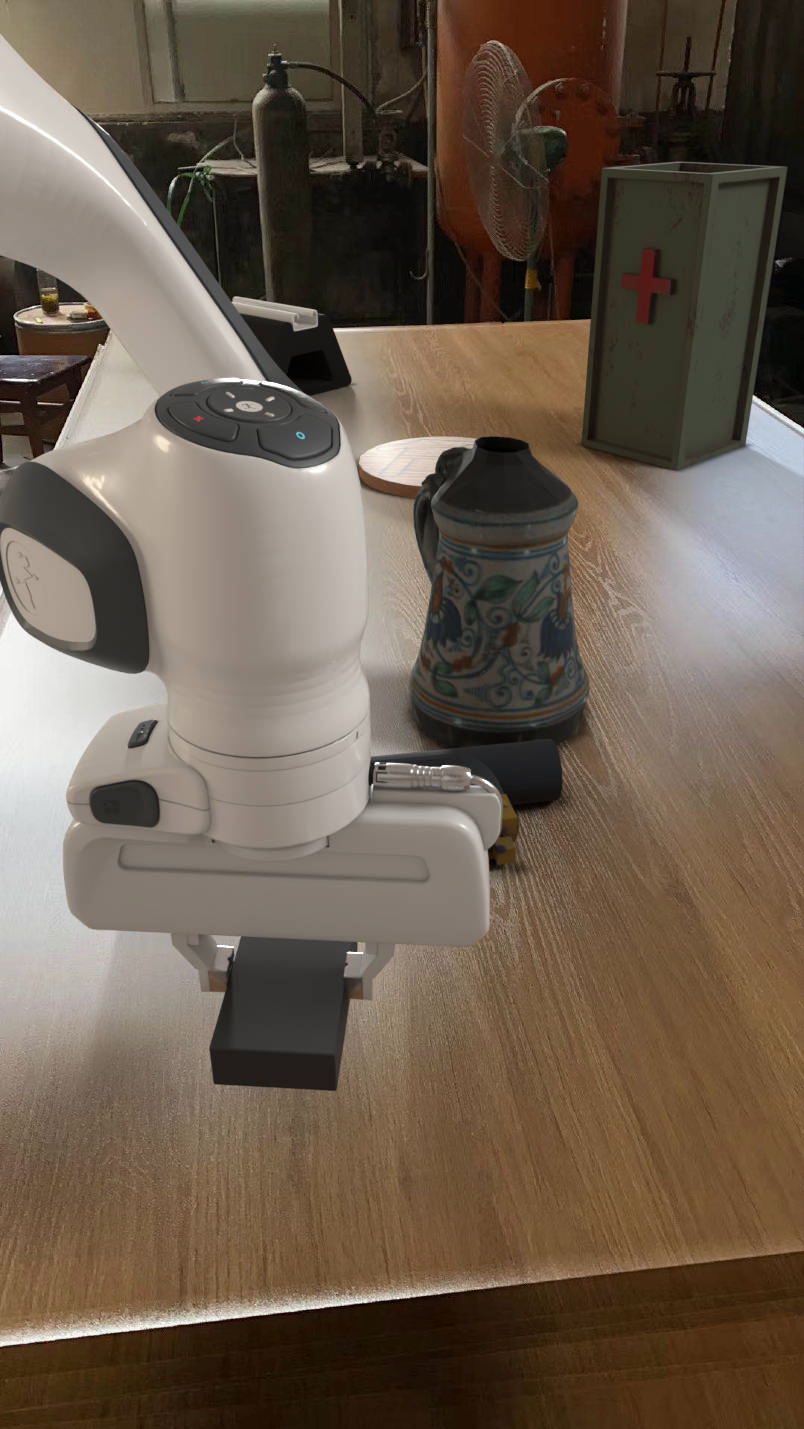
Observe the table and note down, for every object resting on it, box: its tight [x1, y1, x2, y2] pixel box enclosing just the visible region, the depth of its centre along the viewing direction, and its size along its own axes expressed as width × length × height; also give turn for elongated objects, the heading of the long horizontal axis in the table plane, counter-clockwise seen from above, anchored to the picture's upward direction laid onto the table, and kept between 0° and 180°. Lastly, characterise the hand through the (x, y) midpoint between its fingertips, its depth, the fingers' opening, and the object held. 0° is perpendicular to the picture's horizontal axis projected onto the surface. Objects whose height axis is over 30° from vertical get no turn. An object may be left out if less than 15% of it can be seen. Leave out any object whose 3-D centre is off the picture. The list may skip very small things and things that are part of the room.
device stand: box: [231, 296, 353, 396], centre depth 208 cm, size 22×22×15 cm
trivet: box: [358, 436, 478, 499], centre depth 163 cm, size 25×25×2 cm
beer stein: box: [408, 435, 590, 749], centre depth 96 cm, size 16×19×25 cm
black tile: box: [208, 936, 359, 1092], centre depth 57 cm, size 6×13×2 cm, turn 176°
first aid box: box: [581, 161, 788, 471], centre depth 164 cm, size 18×18×40 cm
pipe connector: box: [371, 739, 564, 866], centre depth 84 cm, size 12×5×15 cm
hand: (288, 987), depth 56 cm, fingers closed on black tile, 6 cm apart
